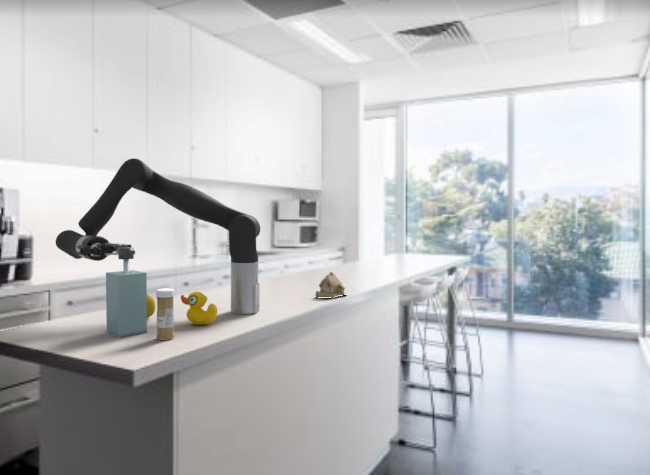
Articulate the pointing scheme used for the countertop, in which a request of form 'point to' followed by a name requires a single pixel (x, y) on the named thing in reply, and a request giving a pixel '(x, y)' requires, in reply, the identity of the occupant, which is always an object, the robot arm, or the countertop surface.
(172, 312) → the sprinkles bottle
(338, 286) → the ceramic model
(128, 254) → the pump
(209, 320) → the duckling
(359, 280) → the countertop surface
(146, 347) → the countertop surface
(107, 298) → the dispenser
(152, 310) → the lemon
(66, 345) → the countertop surface
